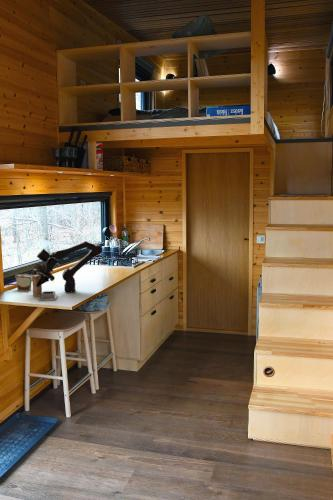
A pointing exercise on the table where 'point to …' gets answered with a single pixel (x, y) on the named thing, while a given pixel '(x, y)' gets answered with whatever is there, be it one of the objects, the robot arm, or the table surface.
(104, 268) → the table surface
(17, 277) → the food container
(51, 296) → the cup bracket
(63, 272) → the robot arm
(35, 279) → the walnut post
